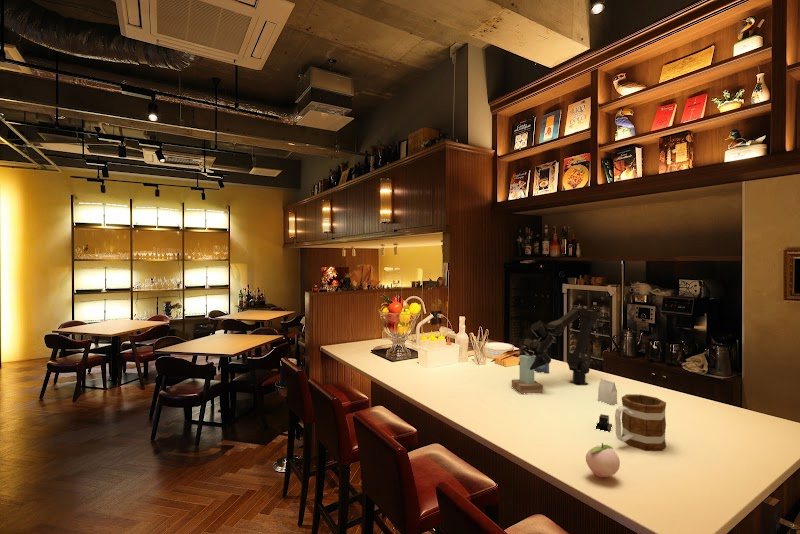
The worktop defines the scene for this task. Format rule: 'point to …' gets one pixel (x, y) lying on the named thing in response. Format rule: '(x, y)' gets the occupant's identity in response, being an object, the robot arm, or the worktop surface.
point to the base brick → (527, 387)
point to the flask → (542, 368)
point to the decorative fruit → (602, 460)
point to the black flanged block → (604, 423)
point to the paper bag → (607, 392)
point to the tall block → (526, 369)
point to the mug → (641, 422)
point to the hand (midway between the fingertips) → (524, 367)
